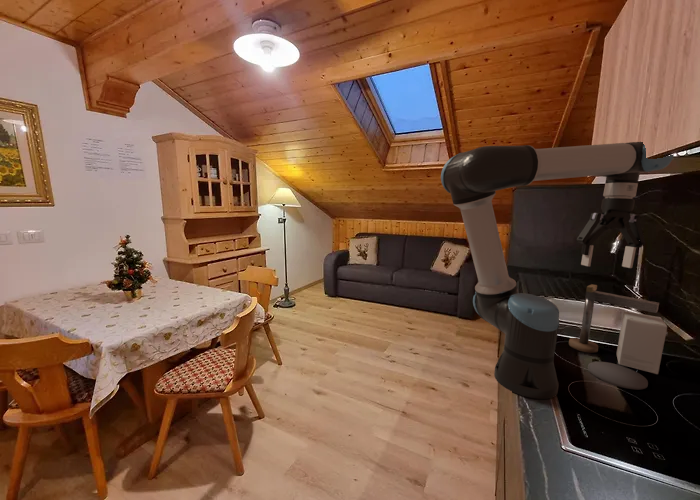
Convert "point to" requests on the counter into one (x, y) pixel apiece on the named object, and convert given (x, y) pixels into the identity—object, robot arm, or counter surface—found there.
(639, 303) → the swing latch
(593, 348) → the disc
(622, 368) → the coaster
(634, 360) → the supplement box
